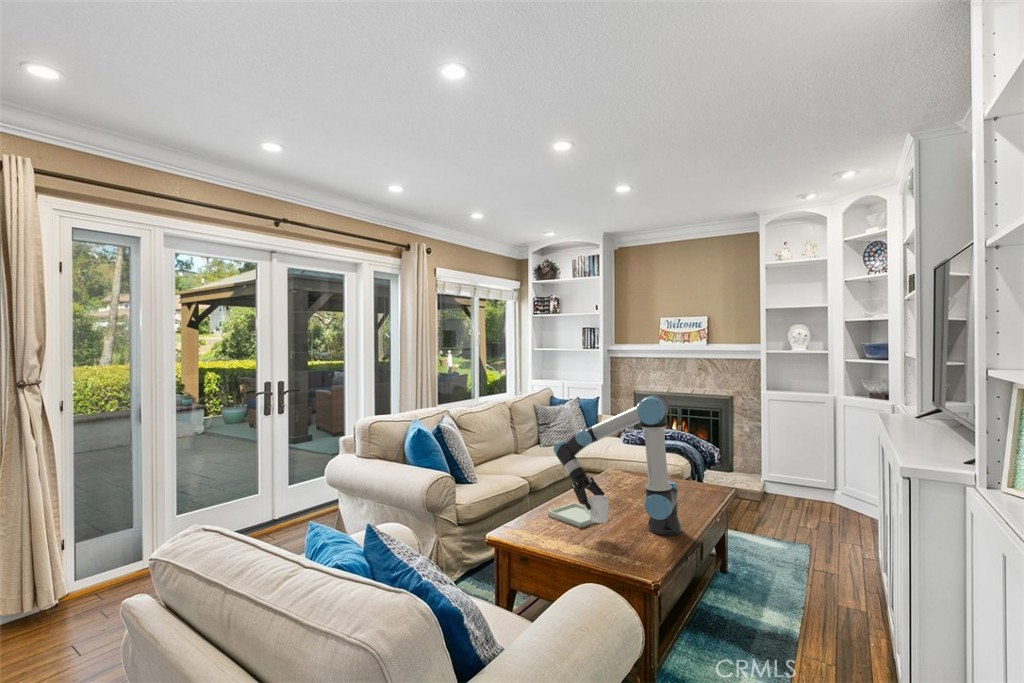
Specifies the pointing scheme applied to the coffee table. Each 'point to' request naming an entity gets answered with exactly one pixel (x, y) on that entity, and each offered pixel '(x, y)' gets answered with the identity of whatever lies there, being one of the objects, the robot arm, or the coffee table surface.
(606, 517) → the cup
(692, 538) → the coffee table surface
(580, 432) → the robot arm
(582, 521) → the sage tray
